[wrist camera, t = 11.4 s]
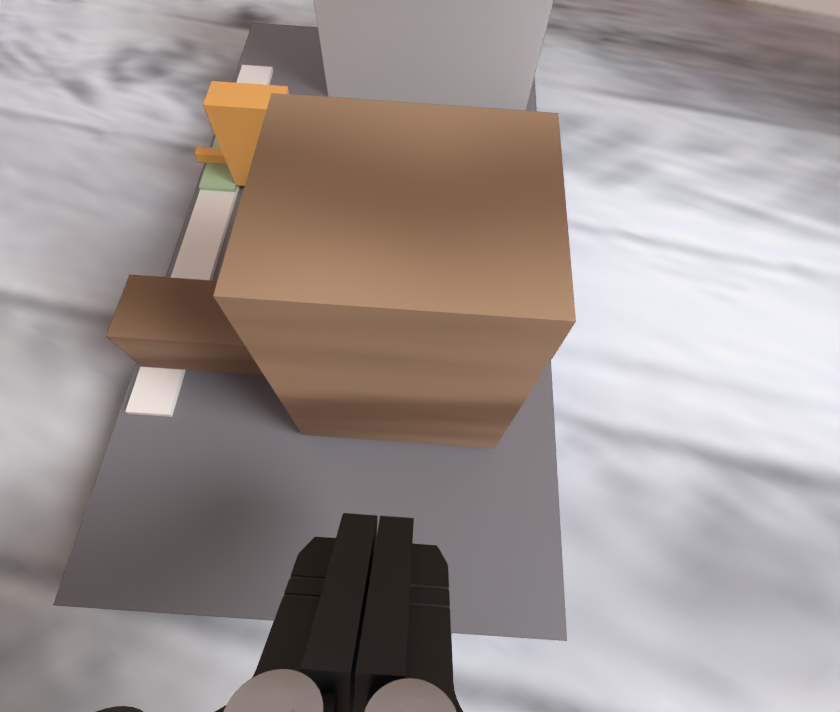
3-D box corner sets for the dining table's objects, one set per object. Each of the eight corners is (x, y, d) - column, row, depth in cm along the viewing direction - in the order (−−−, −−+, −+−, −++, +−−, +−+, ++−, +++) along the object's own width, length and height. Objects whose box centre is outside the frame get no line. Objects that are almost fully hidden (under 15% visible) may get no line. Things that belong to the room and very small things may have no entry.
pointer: (300, 189, 20) (280, 110, 16) (195, 182, 20) (154, 101, 16) (305, 167, 20) (287, 86, 17) (203, 160, 20) (164, 77, 17)
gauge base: (547, 635, 15) (901, 742, 4) (94, 603, 15) (-664, 632, 4) (523, 79, 26) (606, -275, 16) (262, 61, 26) (165, -306, 16)
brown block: (494, 448, 15) (575, 321, 8) (142, 423, 15) (-90, 274, 8) (494, 310, 18) (558, 113, 10) (185, 288, 18) (32, 76, 10)
